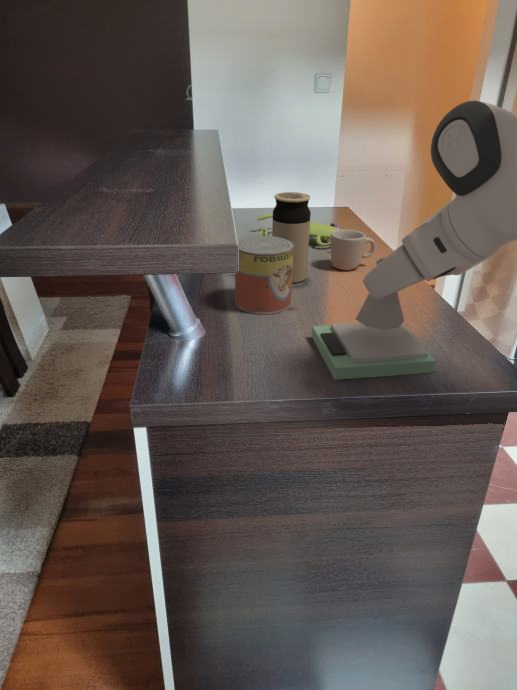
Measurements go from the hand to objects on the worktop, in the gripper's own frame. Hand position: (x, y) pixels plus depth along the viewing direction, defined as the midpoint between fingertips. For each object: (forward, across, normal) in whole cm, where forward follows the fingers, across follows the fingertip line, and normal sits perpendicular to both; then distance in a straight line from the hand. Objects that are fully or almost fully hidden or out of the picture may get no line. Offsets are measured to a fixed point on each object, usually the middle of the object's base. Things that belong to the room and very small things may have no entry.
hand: (380, 289), depth 79 cm
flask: (+4, 0, +4) cm, 6 cm away
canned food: (+27, -3, -11) cm, 30 cm away
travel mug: (+31, -17, -15) cm, 38 cm away
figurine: (+42, -40, -26) cm, 64 cm away
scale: (+8, 0, +8) cm, 12 cm away
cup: (+27, -33, -11) cm, 44 cm away
